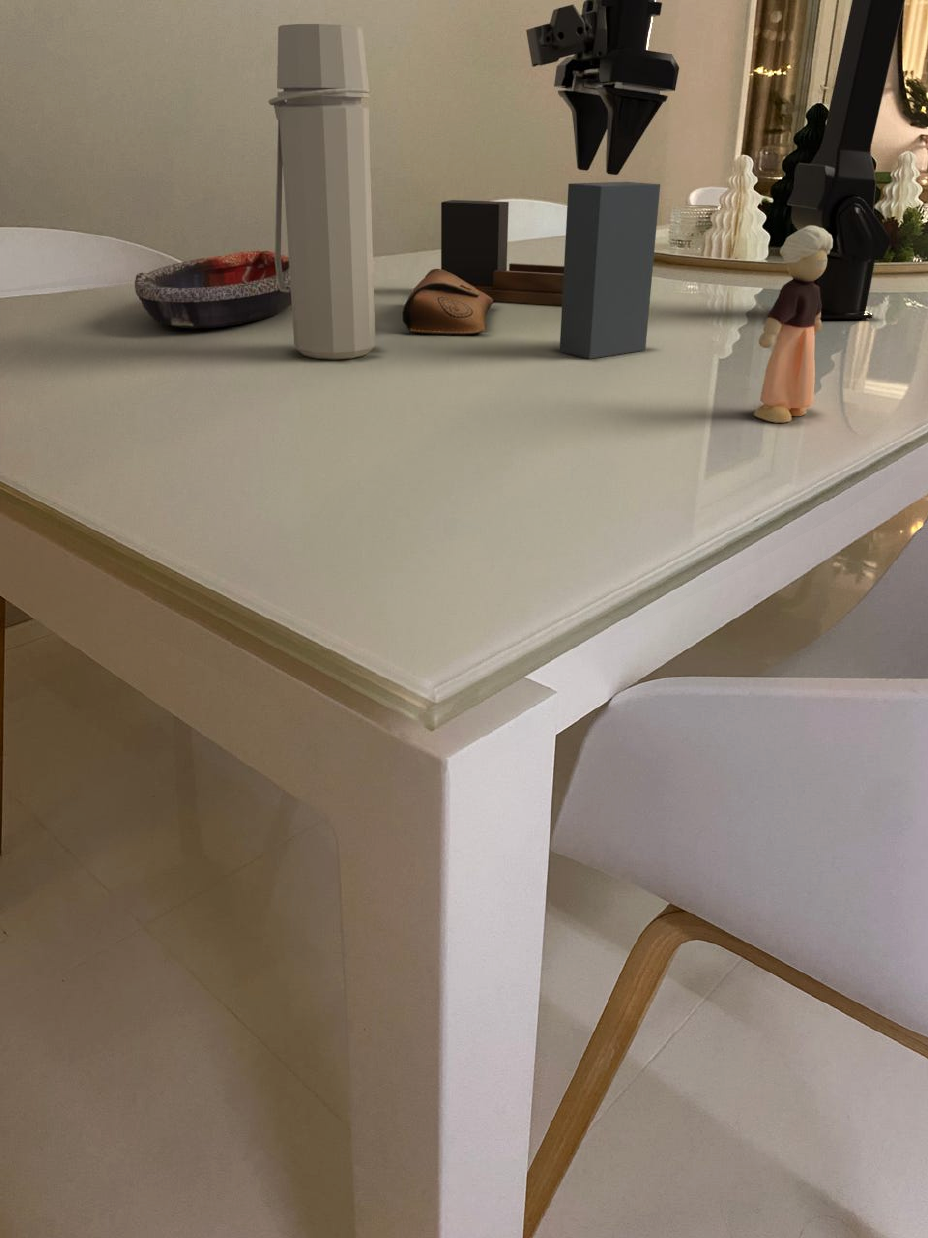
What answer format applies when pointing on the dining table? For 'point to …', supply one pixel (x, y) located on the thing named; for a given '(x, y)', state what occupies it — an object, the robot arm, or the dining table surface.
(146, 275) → the dish
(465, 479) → the dining table surface
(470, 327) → the sunglasses case
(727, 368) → the dining table surface
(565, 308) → the back pad
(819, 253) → the grandmother figurine
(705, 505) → the dining table surface
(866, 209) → the robot arm
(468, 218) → the pad cradle
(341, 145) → the water bottle
